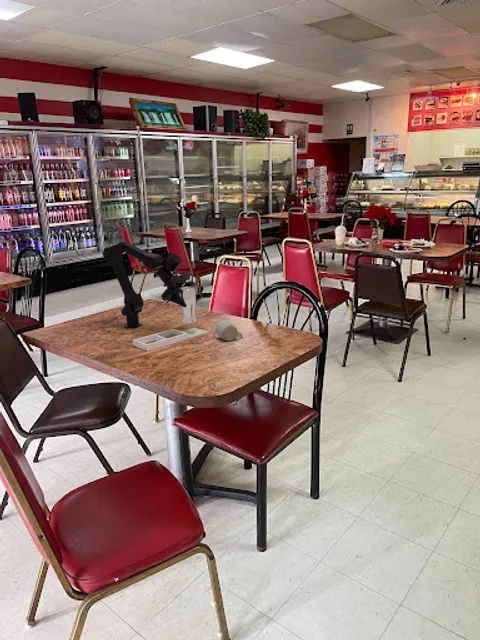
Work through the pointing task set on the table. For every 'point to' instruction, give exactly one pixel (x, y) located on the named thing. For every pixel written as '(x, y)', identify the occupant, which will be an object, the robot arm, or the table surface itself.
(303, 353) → the table surface
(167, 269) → the robot arm
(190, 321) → the shiny metal tumbler
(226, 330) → the ceramic mug
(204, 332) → the white divided tray
